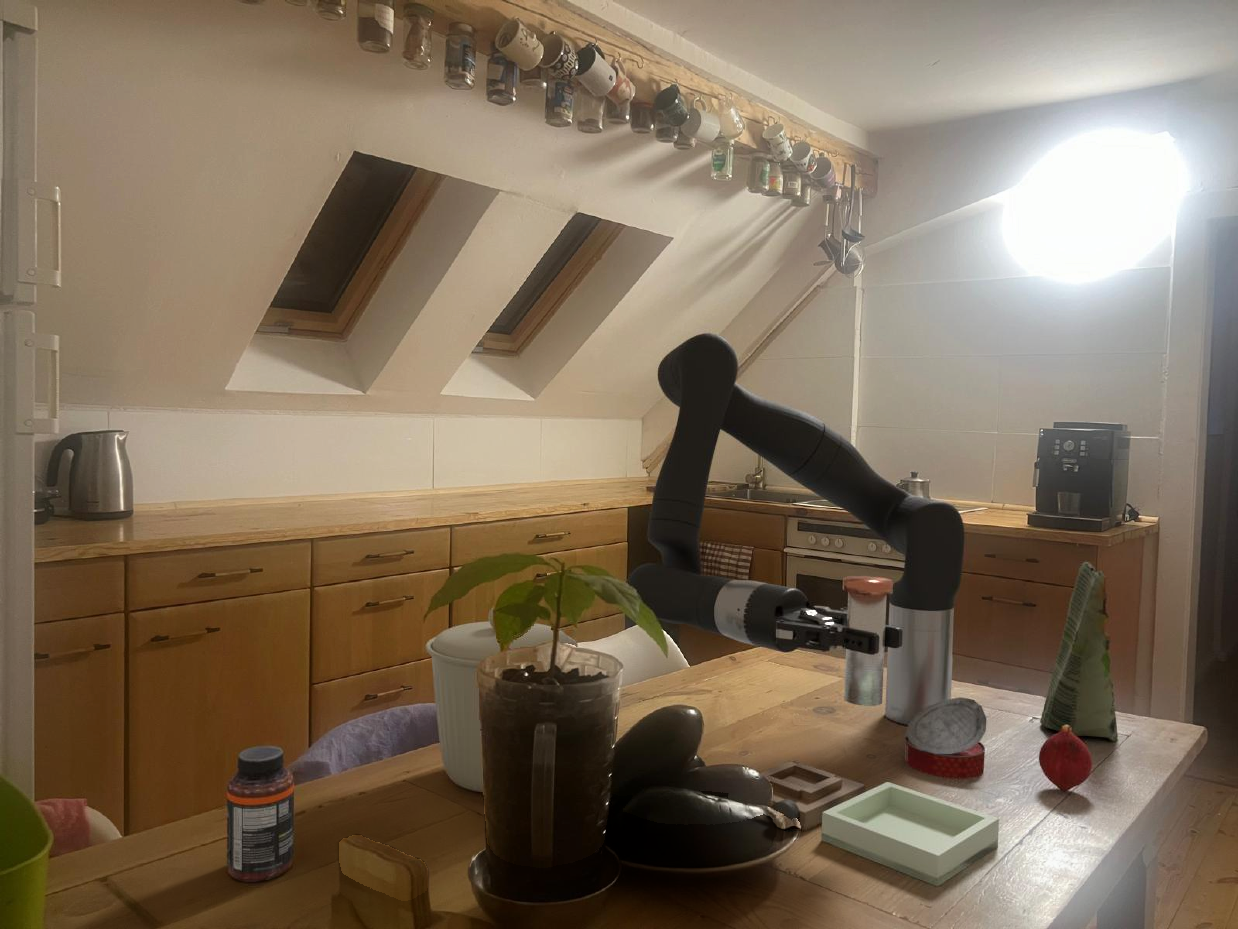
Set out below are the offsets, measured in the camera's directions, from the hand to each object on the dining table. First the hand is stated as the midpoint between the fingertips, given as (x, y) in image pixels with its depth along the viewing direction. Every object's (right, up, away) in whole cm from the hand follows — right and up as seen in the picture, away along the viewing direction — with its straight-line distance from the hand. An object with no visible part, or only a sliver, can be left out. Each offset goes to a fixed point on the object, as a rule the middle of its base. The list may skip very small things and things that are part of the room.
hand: (888, 641), depth 99 cm
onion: (+26, -21, +15) cm, 36 cm away
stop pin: (-2, -7, +2) cm, 8 cm away
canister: (-43, -19, +14) cm, 49 cm away
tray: (+2, -21, -1) cm, 21 cm away
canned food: (+14, -21, +23) cm, 33 cm away
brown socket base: (-8, -20, +9) cm, 23 cm away
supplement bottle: (-63, -20, -10) cm, 67 cm away
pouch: (+39, -21, +37) cm, 57 cm away
